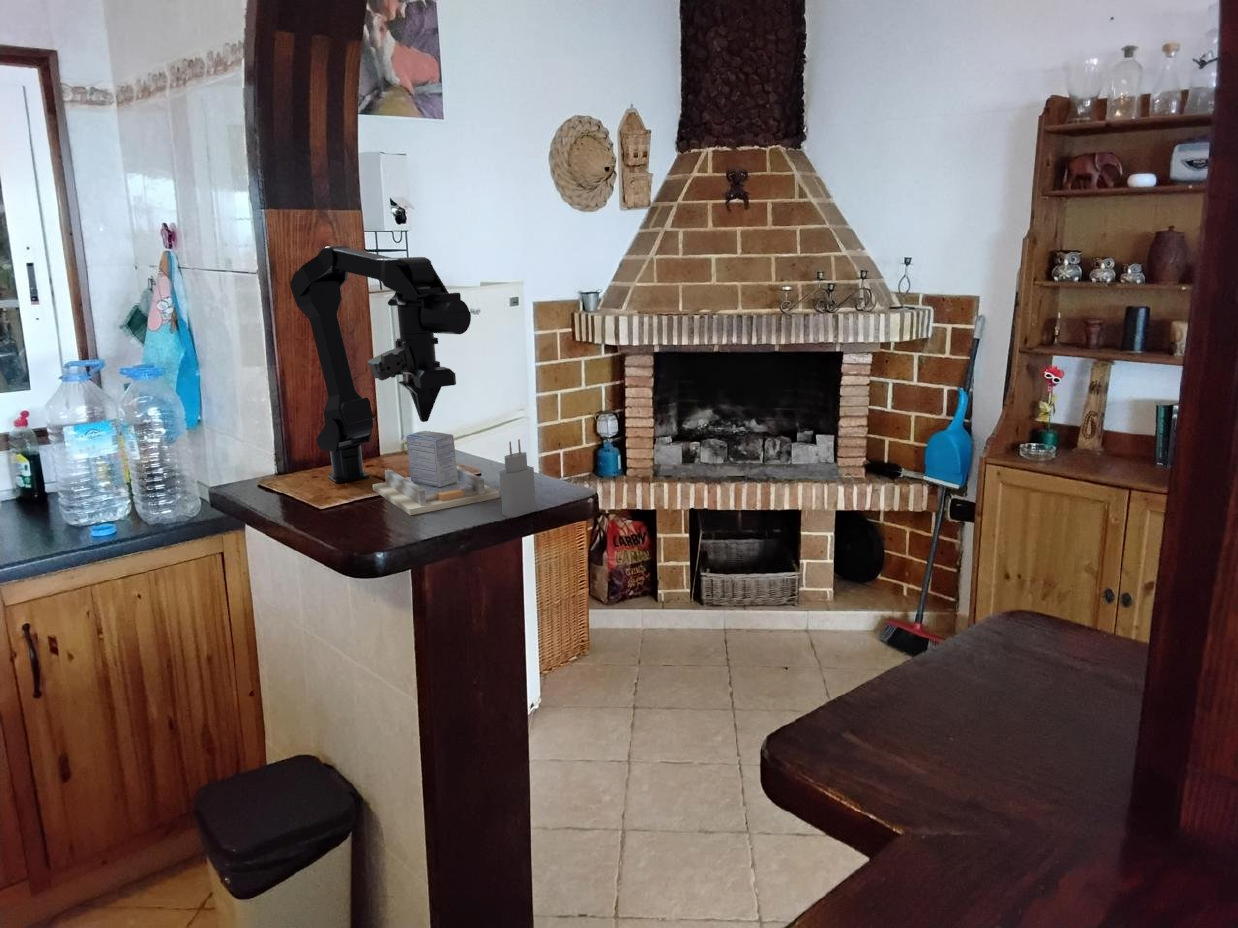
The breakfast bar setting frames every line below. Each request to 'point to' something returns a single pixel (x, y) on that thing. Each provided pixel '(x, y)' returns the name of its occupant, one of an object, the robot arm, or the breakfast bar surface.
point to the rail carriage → (444, 490)
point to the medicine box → (432, 458)
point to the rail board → (414, 496)
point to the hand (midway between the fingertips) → (424, 421)
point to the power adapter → (517, 485)
